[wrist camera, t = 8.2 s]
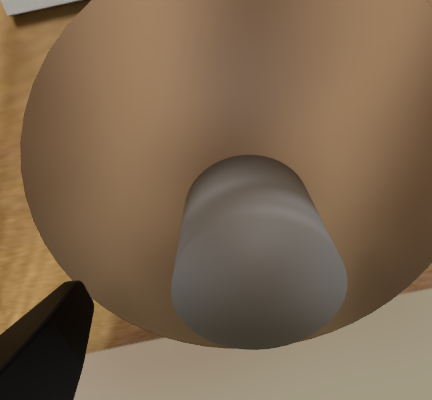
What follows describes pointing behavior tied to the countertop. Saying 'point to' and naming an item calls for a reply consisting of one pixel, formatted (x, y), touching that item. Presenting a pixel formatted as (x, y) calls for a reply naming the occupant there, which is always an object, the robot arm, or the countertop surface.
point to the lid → (236, 162)
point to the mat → (30, 5)
